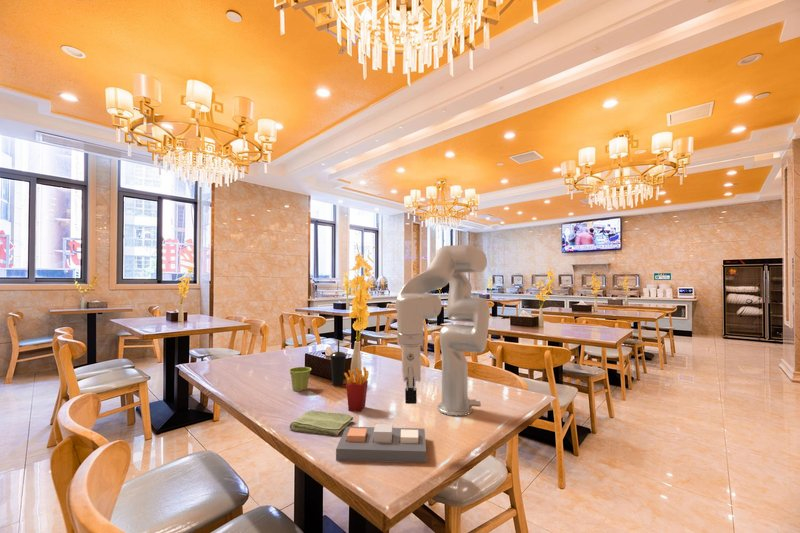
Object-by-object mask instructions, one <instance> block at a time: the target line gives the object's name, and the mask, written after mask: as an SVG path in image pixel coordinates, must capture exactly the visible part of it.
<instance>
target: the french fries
mask: <svg viewBox="0 0 800 533" xmlns="http://www.w3.org/2000/svg"><path fill="white" fill-rule="evenodd" d="M362 371H363V372H362ZM355 372H356V375H355V374H354V373H355ZM348 374H349V375H348ZM344 378H345V379H346V381H347V383H346V385H345V387H346V397H347V398H346V399H347V408H348V411H350V412H360V413H361V412H363V411H364V409H365V408H366V402H367V401H366V400H367V392H368V385H369V383H368V382H369V380H368V379H369V370H367V368H366V366H363V367H362V369H360V368H358V367H355V369H352V371H351V369H348V373H347V372H344Z"/></svg>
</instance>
